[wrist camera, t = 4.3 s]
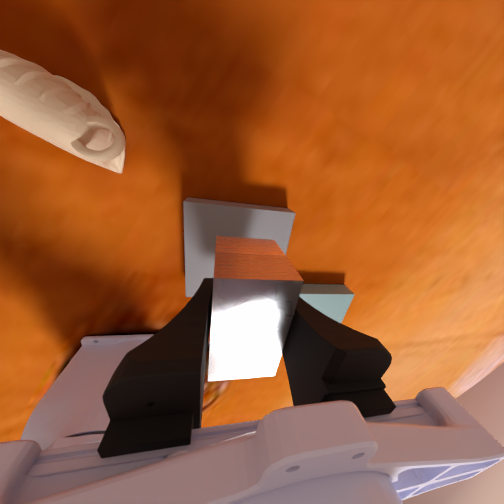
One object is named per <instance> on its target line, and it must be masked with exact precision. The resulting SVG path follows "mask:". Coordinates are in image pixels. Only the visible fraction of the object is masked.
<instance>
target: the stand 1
mask: <svg viewBox="0 0 504 504" xmlns="http://www.w3.org/2000/svg"><path fill="white" fill-rule="evenodd" d="M183 208H184V246H185V283H186V297H193V296H194V294H195V293H196V291H197V290H198V288H199V287H200V285H201V283H202V281H203V279H204V278H214V263H215V248H216V236H228V237H242V238H256V239H269V240H275V241H276V243H277V244H278V246H279V247H280V248H281V250H282V251H283V253H284V254H285V255H286V251H287V246H288V242H289V238H290V234H291V230H292V225H293V221H294V217H295V212H293V211H291V210H290V209H288V208H281V207H272V206H263V205H254V204H245V203H236V202H227V201H217V200H208V199H199V198H190V197H187V198H186V199H185V200H184V201H183Z"/></svg>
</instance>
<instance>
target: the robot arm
mask: <svg viewBox="0 0 504 504" xmlns="http://www.w3.org/2000/svg"><path fill="white" fill-rule="evenodd" d="M212 297H213V278H204V279H203V281H202V283H201V285H200V287H199V288H198V290H197V291H196V293H195V294H194V296H193V297H192V298H191V300H190V301H189V302H188V303H187V305H186V306H185V307H184V308H183V309H182V310H181V311H180V312H179V313H178V314H177V315H176V316H175V317H174V318H173V319H172V320H171V321H170V322H169V323H168V324H167V325H166V326H164V327H163V328H162V329H161V330H159V331H158V332H157V333H155V334H145V335H115V336H87V337H83V339H82V340H81V344H82V347H81V348H80V349H79V351H78V352H77V353H76V355H75V356H74V357H73V358H72V360H71V361H70V362H69V364H68V365H67V366H66V368H65V369H64V370H63V371H62V373H61V374H60V375H59V377H58V378H57V379H56V381H55V382H54V383H53V385H52V386H51V387H50V388H49V390H48V391H47V392H46V394H45V395H44V396H43V398H42V399H41V400H40V402H39V403H38V404H37V406H36V407H35V409H34V411H33V412H32V414H31V416H30V418H29V420H28V422H27V424H26V426H25V429H24V431H23V434H22V437H21V440H16V441H8V442H0V504H403V502H402V501H401V500H404V499H407V498H410V497H413V496H416V495H419V494H421V493H424V492H427V491H430V490H433V489H436V488H439V487H442V486H446V485H449V484H452V483H455V482H459V481H462V480H466V479H470V478H472V477H473V476H475V475H477V474H479V473H480V472H482V471H484V470H486V469H487V468H489V467H491V466H492V465H494V464H496V463H498V462H499V461H501V460H503V459H504V447H503V446H502V445H501V444H500V443H499V442H498V441H497V440H496V439H495V438H494V437H493V436H492V435H491V434H490V433H489V432H488V431H487V430H486V429H485V428H484V427H483V426H482V425H481V424H480V423H479V422H478V421H477V420H476V419H475V418H474V417H473V416H472V415H471V414H470V413H469V412H468V411H467V410H466V409H465V408H464V407H463V406H462V405H461V404H460V403H459V402H458V401H457V400H456V399H455V398H454V397H453V396H452V395H451V394H450V393H449V392H448V391H447V390H446V389H445V388H444V387H435V388H427V389H424V390H422V391H421V392H419V393H418V394H417V396H416V398H415V399H408V400H401V401H394V402H393V401H392V400H391V399H390V397H389V396H388V394H387V393H386V392H385V390H384V389H385V387H386V386H385V384H384V382H383V381H382V380H381V377H382V376H383V374H384V373H385V372H386V370H387V369H388V367H389V366H390V364H391V360H392V357H391V354H390V353H389V352H388V350H387V349H386V348H385V347H384V346H383V345H382V344H381V343H380V342H379V340H378V339H376V338H373V337H371V336H368V335H366V334H363V333H360V332H358V331H356V330H353V329H351V328H349V327H347V326H345V325H343V324H341V323H339V322H337V321H335V320H333V319H332V318H330V317H328V316H326V315H325V314H323V313H322V312H320V311H318V310H317V309H315V308H314V307H312V306H311V305H310V304H308V303H307V302H306V301H304V300H303V299H302V298H301V297H299V298H298V302H297V305H296V308H295V311H294V315H293V318H292V321H291V325H290V328H289V331H288V334H287V338H286V341H285V344H284V347H283V351H282V353H283V358H284V362H285V366H286V370H287V375H288V379H289V384H290V389H291V394H292V399H293V405H294V406H292V407H285V408H282V409H278V410H274V411H273V412H271V413H269V414H267V415H266V416H264V417H263V419H262V420H256V421H249V422H242V423H235V424H228V425H220V426H213V427H206V428H201V420H202V406H203V391H204V377H205V363H206V351H207V344H208V337H209V331H210V325H211V315H212Z"/></svg>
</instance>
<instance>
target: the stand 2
mask: <svg viewBox="0 0 504 504" xmlns="http://www.w3.org/2000/svg"><path fill="white" fill-rule="evenodd" d="M354 295H355V294H354V293H353V292H352V291H351V290H349V289H348V288H347V287H346V286H345V285H340V284H303V285H302V289H301V292H300V295H299V297H301V298H302V299H303V300H304V301H306V302H307V303H308V304H310V305H311V306H312V307H314V308H315V309H317V310H318V311H320V312H322V313H323V314H325V315H326V316H328V317H330V318H332V319H333V320H335V321H337V322H339V323H341V322H342V320H343V318H344V316H345V314H346V312H347V309H348V307H349V305H350V303H351V301H352V299H353V297H354Z"/></svg>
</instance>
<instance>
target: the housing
mask: <svg viewBox="0 0 504 504" xmlns="http://www.w3.org/2000/svg"><path fill="white" fill-rule="evenodd" d="M303 282H304V280H303V279H302V277H301V276H300V275H299V273H298V272H297V271H296V269H295V268H294V266H293V265H292V264H291V262H290V261H289V259H288V258H287V257H286V255H285V254H284V253H283V251H282V250H281V248H280V247H279V246H278V244H277V243H276V241H275V240H269V239H256V238H242V237H228V236H216V248H215V263H214V278H213V297H212V315H211V334H210V352H209V371H208V381H220V380H232V379H243V378H255V377H267V376H275V374H276V370H277V367H278V364H279V361H280V357H281V354H282V351H283V347H284V344H285V341H286V338H287V334H288V331H289V328H290V325H291V321H292V318H293V315H294V311H295V308H296V305H297V302H298V298H299V295H300V292H301V289H302V285H303Z"/></svg>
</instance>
